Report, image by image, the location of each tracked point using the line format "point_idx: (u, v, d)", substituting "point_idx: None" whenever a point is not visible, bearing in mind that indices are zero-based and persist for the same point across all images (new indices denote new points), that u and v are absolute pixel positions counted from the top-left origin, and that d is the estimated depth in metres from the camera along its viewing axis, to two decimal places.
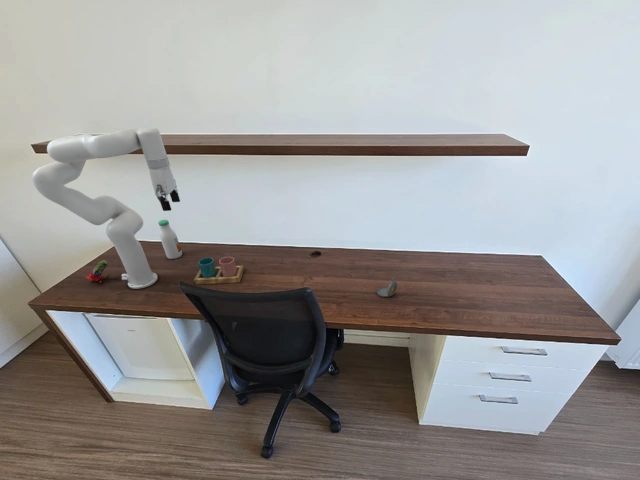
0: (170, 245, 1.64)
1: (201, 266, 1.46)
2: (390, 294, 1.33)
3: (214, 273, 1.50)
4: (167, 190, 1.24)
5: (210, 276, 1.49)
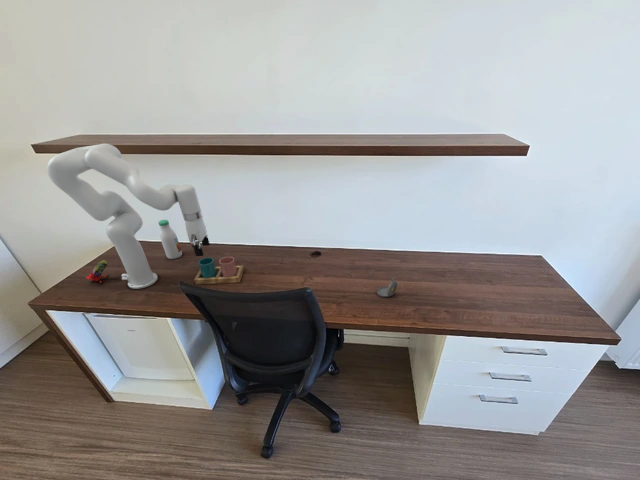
0: (170, 245, 1.64)
1: (201, 266, 1.46)
2: (390, 294, 1.33)
3: (214, 273, 1.50)
4: (200, 238, 1.37)
5: (210, 276, 1.49)
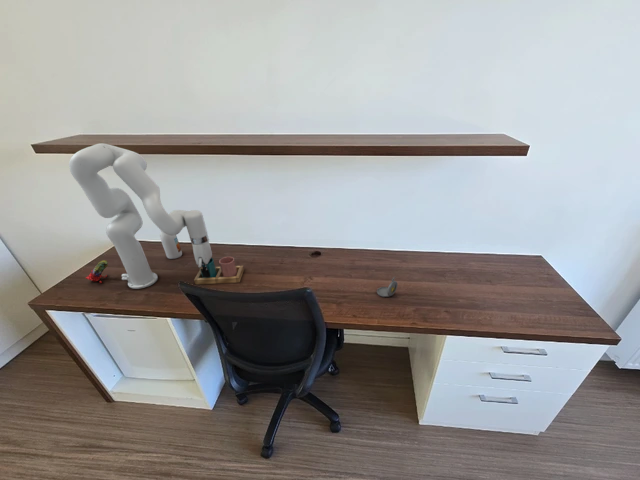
0: (170, 245, 1.64)
1: None
2: (390, 294, 1.33)
3: (214, 273, 1.50)
4: (206, 261, 1.43)
5: (210, 276, 1.49)
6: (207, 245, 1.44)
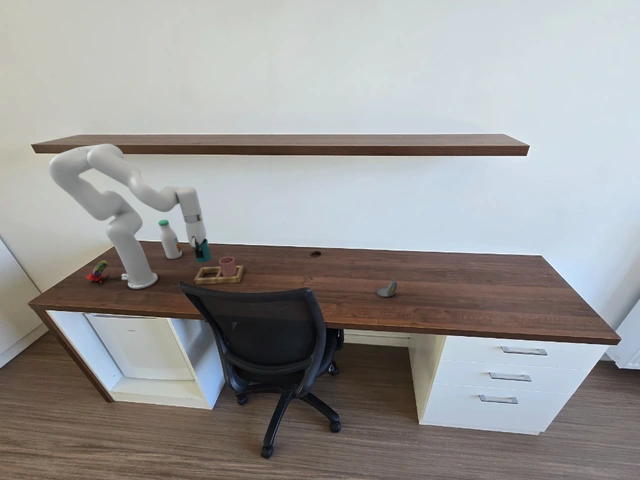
0: (170, 245, 1.64)
1: None
2: (390, 294, 1.33)
3: (208, 254, 1.44)
4: (200, 240, 1.38)
5: (204, 257, 1.43)
6: (201, 224, 1.38)
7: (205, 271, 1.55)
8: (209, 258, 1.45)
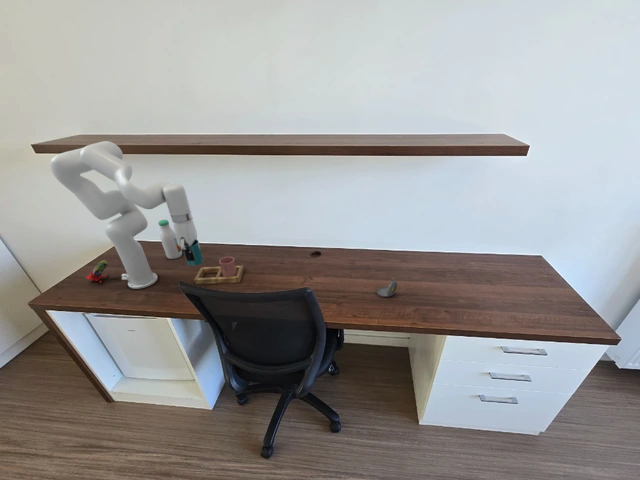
0: (170, 245, 1.64)
1: None
2: (390, 294, 1.33)
3: (199, 256, 1.34)
4: (190, 242, 1.28)
5: (195, 260, 1.33)
6: (191, 224, 1.28)
7: (205, 271, 1.55)
8: (201, 260, 1.35)
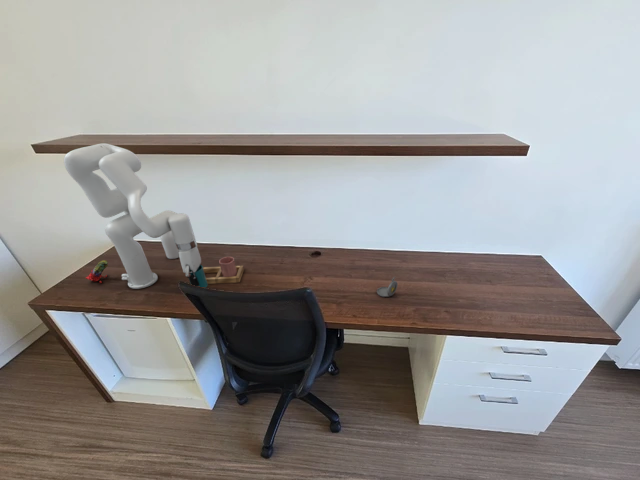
0: (170, 245, 1.64)
1: None
2: (390, 294, 1.33)
3: (204, 281, 1.38)
4: (194, 268, 1.31)
5: (199, 285, 1.37)
6: (195, 251, 1.32)
7: (205, 271, 1.55)
8: (205, 285, 1.39)
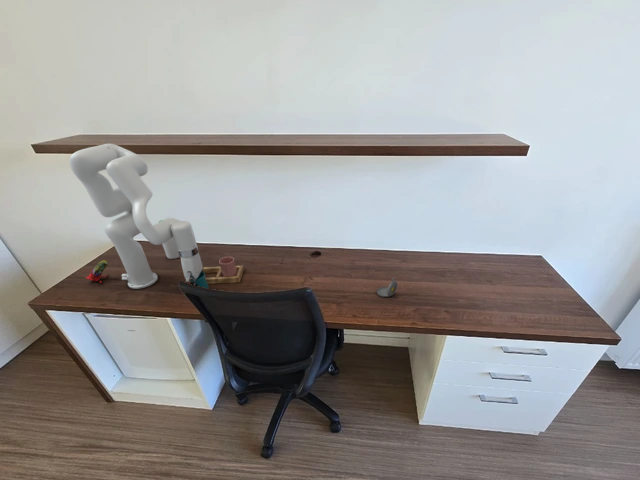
0: (170, 245, 1.64)
1: None
2: (390, 294, 1.33)
3: None
4: (196, 275, 1.33)
5: None
6: (197, 258, 1.33)
7: (205, 271, 1.55)
8: None
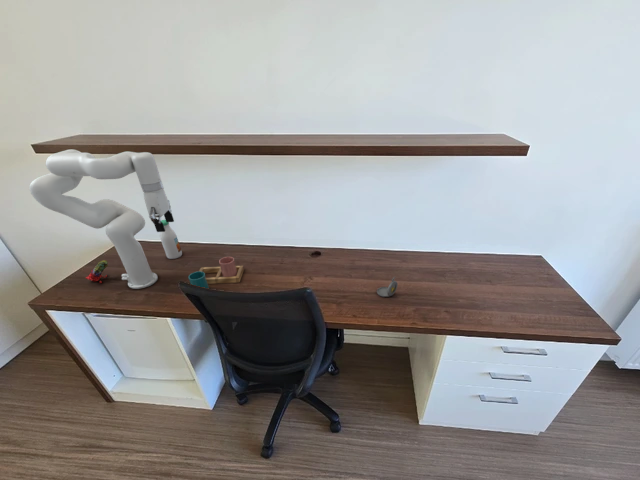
0: (170, 245, 1.64)
1: (191, 281, 1.36)
2: (390, 294, 1.33)
3: None
4: (161, 212, 1.27)
5: None
6: (162, 195, 1.27)
7: (205, 271, 1.55)
8: None
